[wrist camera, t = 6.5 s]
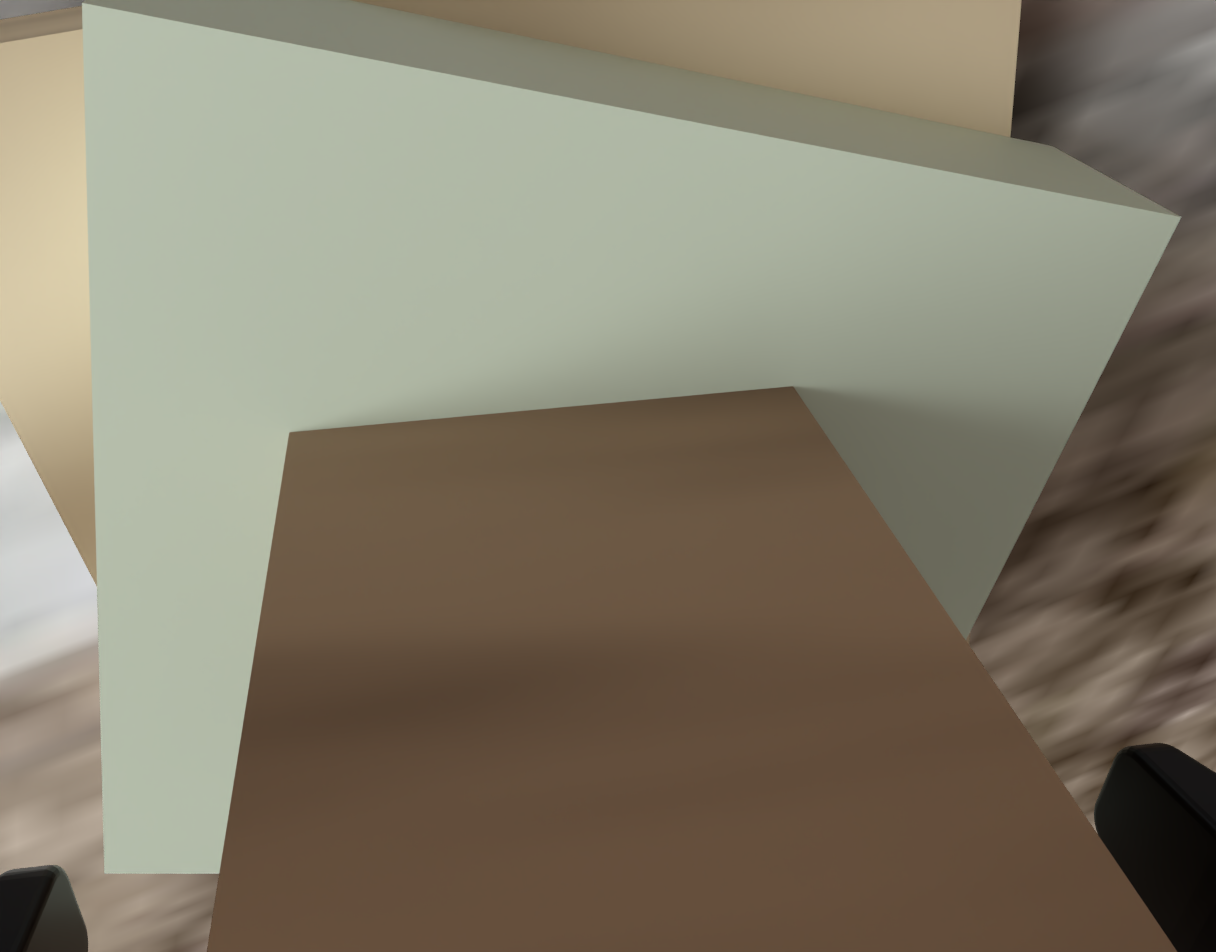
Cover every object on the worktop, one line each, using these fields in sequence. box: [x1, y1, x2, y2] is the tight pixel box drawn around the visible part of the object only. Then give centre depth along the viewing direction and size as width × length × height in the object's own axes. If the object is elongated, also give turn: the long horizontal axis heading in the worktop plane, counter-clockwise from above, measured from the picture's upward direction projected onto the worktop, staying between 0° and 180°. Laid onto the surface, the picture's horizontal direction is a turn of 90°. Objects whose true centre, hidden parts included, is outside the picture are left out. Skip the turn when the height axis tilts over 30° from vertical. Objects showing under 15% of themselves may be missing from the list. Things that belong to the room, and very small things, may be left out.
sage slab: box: [82, 0, 1181, 874], centre depth 13 cm, size 10×10×2 cm
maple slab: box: [0, 0, 1021, 644], centre depth 15 cm, size 12×12×2 cm
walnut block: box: [207, 386, 1177, 952], centre depth 9 cm, size 5×5×7 cm
